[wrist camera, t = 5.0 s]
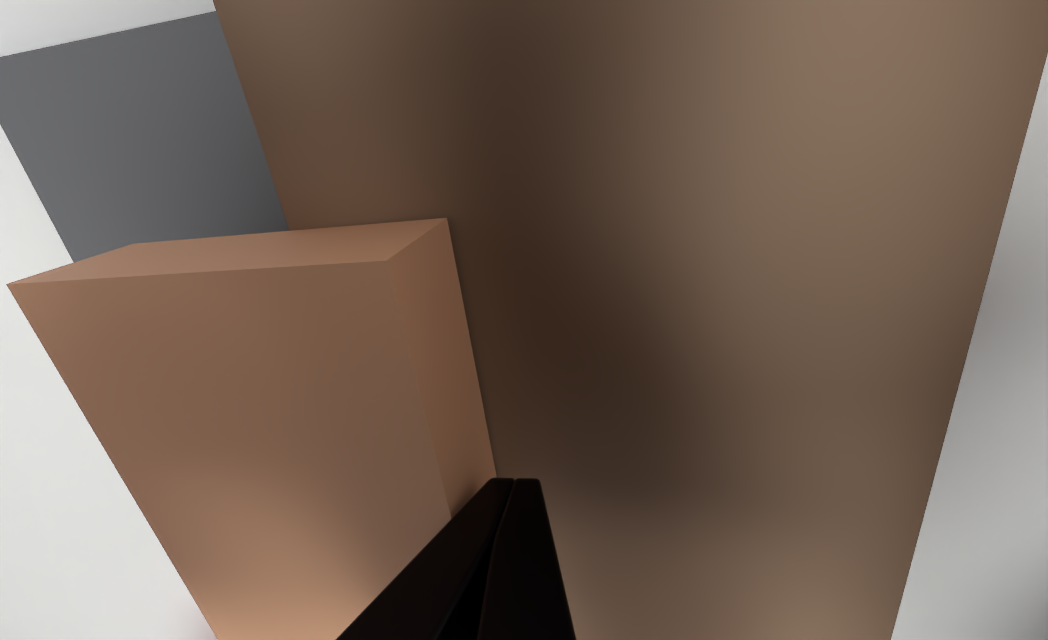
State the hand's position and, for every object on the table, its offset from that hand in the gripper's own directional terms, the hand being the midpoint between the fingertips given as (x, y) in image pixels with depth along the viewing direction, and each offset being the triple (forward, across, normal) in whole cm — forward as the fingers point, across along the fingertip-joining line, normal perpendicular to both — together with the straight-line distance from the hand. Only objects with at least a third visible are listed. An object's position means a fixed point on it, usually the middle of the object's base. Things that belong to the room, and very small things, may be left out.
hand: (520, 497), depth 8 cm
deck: (+5, -2, 0) cm, 5 cm away
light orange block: (+1, +4, 0) cm, 4 cm away
